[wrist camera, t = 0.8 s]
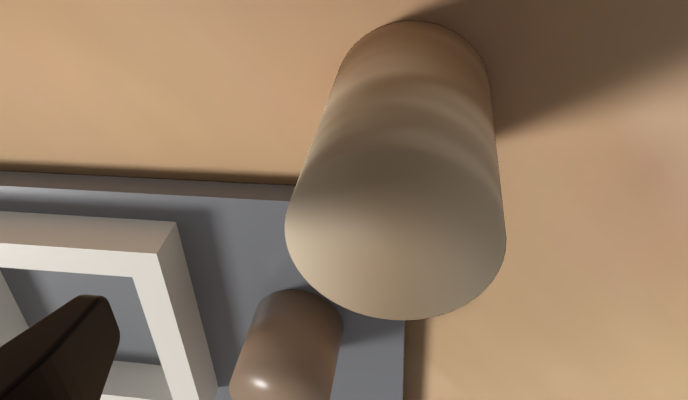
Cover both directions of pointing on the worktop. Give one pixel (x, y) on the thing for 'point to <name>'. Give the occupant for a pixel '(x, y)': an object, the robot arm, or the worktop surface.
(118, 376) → the board
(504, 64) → the worktop surface
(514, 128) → the worktop surface
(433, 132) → the beige rounded cylinder
